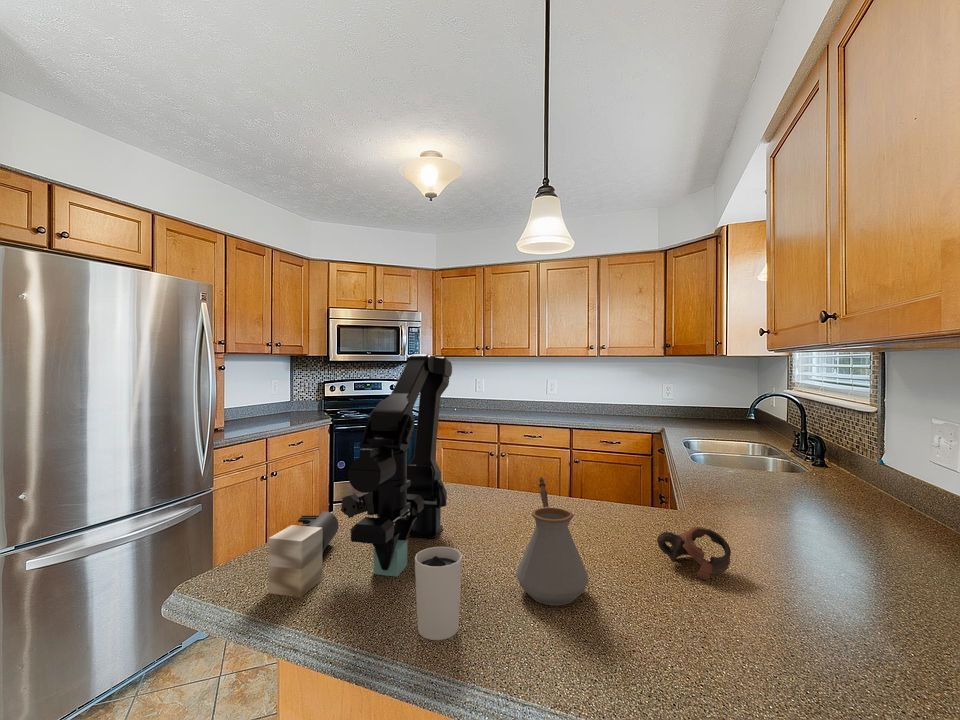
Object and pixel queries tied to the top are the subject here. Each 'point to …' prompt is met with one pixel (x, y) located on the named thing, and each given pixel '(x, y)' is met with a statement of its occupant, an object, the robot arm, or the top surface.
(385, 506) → the robot arm
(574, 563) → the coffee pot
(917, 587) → the top surface
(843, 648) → the top surface
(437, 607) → the white cup
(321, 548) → the tower middle block
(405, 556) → the teal block
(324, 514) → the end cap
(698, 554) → the brown curved piece
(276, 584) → the tower bottom block
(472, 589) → the top surface
